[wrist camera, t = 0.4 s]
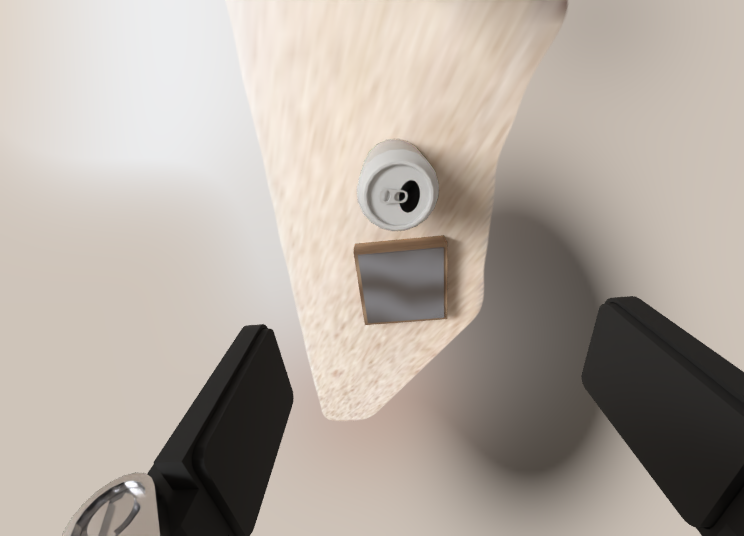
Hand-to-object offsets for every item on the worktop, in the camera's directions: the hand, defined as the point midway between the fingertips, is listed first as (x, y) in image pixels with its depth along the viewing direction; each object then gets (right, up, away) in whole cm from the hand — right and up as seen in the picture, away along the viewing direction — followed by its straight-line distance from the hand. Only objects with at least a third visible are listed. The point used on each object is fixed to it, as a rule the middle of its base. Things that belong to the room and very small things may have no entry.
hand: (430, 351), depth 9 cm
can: (+1, +14, +28) cm, 31 cm away
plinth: (+3, +1, +35) cm, 35 cm away
